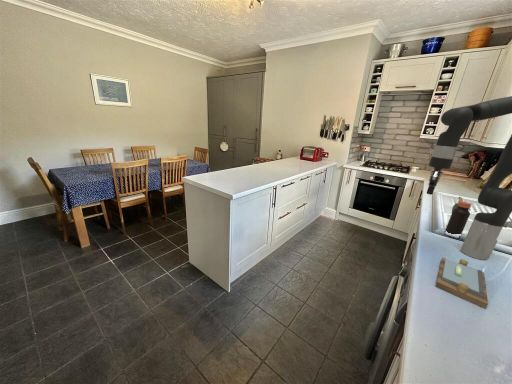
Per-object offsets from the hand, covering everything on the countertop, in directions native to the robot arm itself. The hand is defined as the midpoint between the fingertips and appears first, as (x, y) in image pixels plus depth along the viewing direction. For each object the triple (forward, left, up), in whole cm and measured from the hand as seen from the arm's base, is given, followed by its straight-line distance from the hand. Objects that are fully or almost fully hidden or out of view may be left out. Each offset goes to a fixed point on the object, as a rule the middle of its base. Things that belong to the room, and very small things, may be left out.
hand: (429, 193), depth 96 cm
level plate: (0, +26, -25) cm, 36 cm away
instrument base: (0, +26, -27) cm, 37 cm away
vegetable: (-40, -22, -27) cm, 53 cm away
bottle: (-32, -12, -27) cm, 44 cm away
